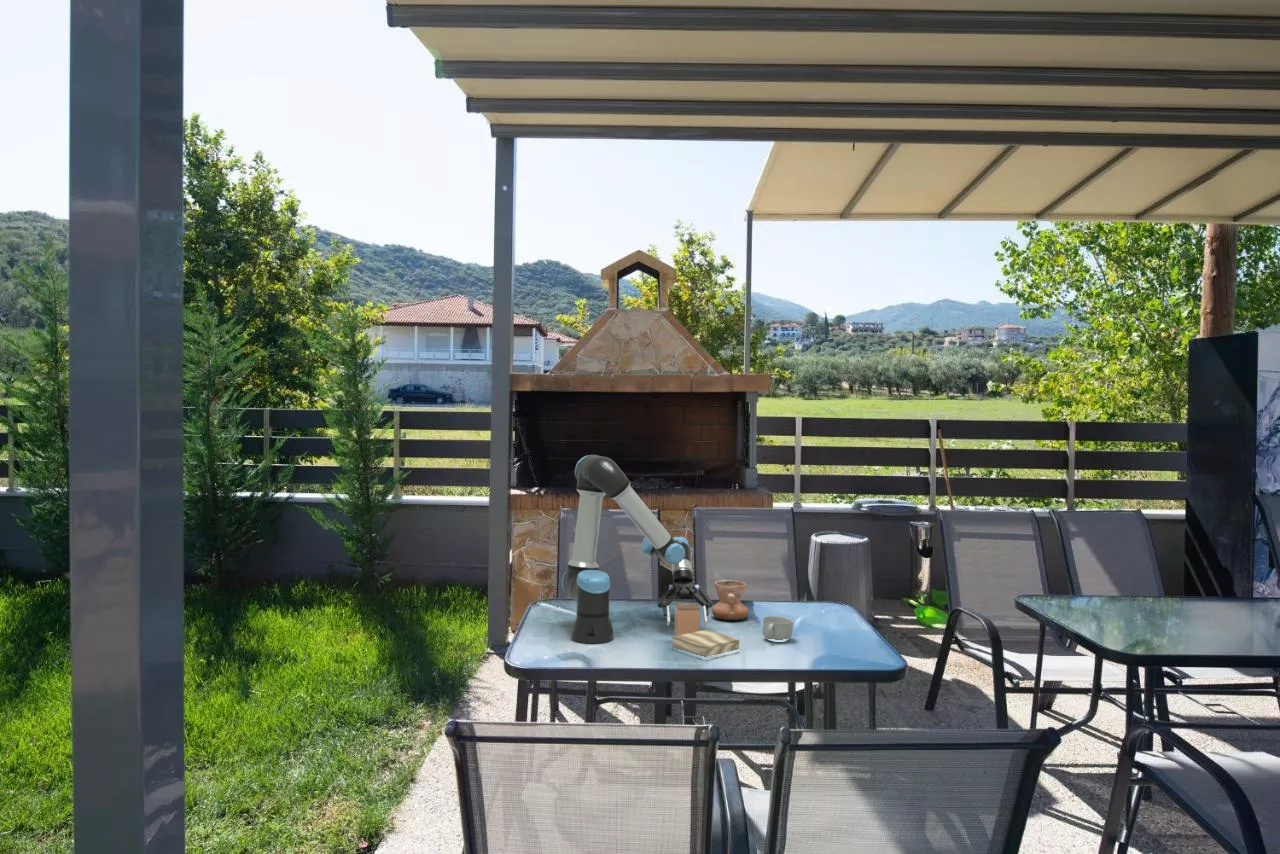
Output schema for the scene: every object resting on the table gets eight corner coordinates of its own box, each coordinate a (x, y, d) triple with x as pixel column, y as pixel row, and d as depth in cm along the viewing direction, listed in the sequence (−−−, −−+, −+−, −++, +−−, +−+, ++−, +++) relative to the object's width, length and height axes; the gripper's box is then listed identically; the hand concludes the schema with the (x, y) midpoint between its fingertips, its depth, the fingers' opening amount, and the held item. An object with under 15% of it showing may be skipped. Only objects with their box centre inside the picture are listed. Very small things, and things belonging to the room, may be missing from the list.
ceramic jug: (749, 624, 337) (750, 587, 336) (711, 623, 337) (712, 586, 337) (746, 613, 354) (747, 578, 354) (711, 612, 355) (711, 577, 355)
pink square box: (677, 638, 314) (677, 608, 314) (674, 632, 322) (674, 603, 322) (699, 638, 315) (699, 608, 315) (695, 632, 323) (696, 603, 322)
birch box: (705, 662, 287) (705, 647, 287) (672, 651, 299) (672, 636, 299) (739, 654, 297) (739, 639, 297) (706, 643, 309) (706, 629, 309)
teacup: (772, 635, 321) (772, 613, 321) (798, 640, 314) (799, 618, 314) (752, 642, 310) (752, 620, 310) (778, 648, 303) (779, 625, 303)
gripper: (713, 579, 336) (719, 628, 321) (648, 579, 334) (652, 628, 319) (716, 568, 331) (722, 617, 316) (650, 568, 328) (654, 617, 314)
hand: (687, 623), depth 317 cm, fingers open, 13 cm apart
